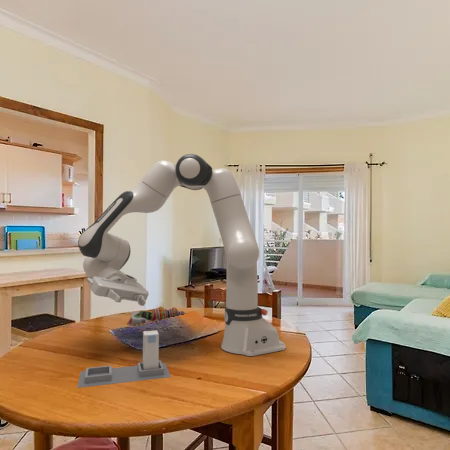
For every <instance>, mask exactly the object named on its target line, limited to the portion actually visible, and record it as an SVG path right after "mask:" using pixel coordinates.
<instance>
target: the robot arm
mask: <svg viewBox="0 0 450 450" xmlns="http://www.w3.org/2000/svg"><path fill="white" fill-rule="evenodd" d="M177 187H181V188H185V189H188V190H191V191H199V190H202V189H204V190H205V191H206V193H207V195H208V198H209V201H210V205H211V207H212V211H213V214H214V218H215V221H216V225H217V228H218V231H219V235H220V238H221V242H222V245H223V249H224V252H225V255H226V282H225V284H226V289H225V296H226V297H225V307H224V318H223V319H224V323H225V324H224V331H223V338H222V342H221V345H220V347H221V349H222V350H223V351H225V352H227V353H231V354H238V355H244V356H247V357H255V356H260V355H265V354H270V353H276V352H279V351H280V352H281V351H285V350H286V344H285V342H284V341H282V340H280V337H279V333H278V330H277V328H276V326H274V325H273V324H271V323H270V322H269V321H267V320H266V319H265V318H264V317H263V316H267V315H268V310H267V309H265V308H261V307H260V306H258V304H259V303H258V302H259V301H258V297H259V296H258V294H259V287H258V286H259V285H258V284H259V281H258V260H259V258H260V248H259V245H258V241H257V239H256V237H255V233H254V230H253V228H252V224H251V222H250V220H249V219H250V218H249V216H248V213H247V210H246V207H245V204H244V200H243V196H242V194H241V191H240V188H239V185H238V183H237V181H236V179H235V177H234V175H233V173H232V172H231V171H230V170H229V169H228V168H223V167H220V168H215V169H213V167H212V166H211V165H210V164H209V163H208V162H207V161H206V160H205V159H204V158H203V157H201V156H200V155H197V154H195V153H187V154H183V156H181V157H180V158H179V159H178V160H177V162H176V163H175V164H174V163H172V161H169V160H164V159H162V160H159V161H157V162H155V163H154V164H153V165H152V166H151V168H150V169H149V170H147V172H146V174H145V175H144V176H143V177H142V179H141V180H140V181H139V183H138V184H137V186H135V187H133V188H132V189H131V190H126V191H124V192H122V193H121V194H119V196H118V197H116V199H114V201H112V203H111V204H109V206H108V207H107V208H106V209H105V210H104V211H103V212H102V213H101V214H100V216H99V217H97V219H96V220H95V221H94V222H93V223H92V224H91V225H90V226H89V227H87V228H86V229H85V230H84V231H83V232H81V234H80V236H79V237H78V241H77V243H78V244H77V246H78V249H79V252H80V254H82V256H84V257H85V258H84V260H83V263H82V267H83V271H84V273H85V275H86V276H87V277H86V282H87V283H88V284H89V285H88V286H89V289H90V290H91V292H92V293H93V294H94V295H95V296H98V297H104V298H109V299H111V300H113V301H114V302H115V303H122V300H123V301H131V302H137V304H138V305H139V306H141V307H144V306H145V305H146V303H147V300H148V297H149V291H148V290H147V289H146V288H145V287H144V286H143V285H142V284H140V283H139V282H137V281H138V280H137V279H136V277H133V276H132V275H129V274H126V273H125V272H123V271H121V269H122V268H124V266H125V265H126V264H127V263H128V261H129V259H130V256H131V245H130V243H129V241H128V240H125V239H123V238H121V237H119V236H116V235H114V234H111V233H109V231H111V229H112V228H113V227H114V226H115V225H116V224H117V222H119V220H120V219H121V218H122V217H123V216H125V215H128V214H133V213H143V214H151V213H154V212H157V211H159V210H160V209H161V208H162V207H163V206H164V205H165V203H166V202H167V200H168V198H169V197H170V196H171V194H172V193H173V191H174V190H175V189H176V188H177Z"/></svg>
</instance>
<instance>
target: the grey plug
mask: <svg viewBox="0 0 450 450" xmlns="http://www.w3.org/2000/svg"><path fill="white" fill-rule="evenodd" d="M159 340H160V335H159V331H158V329H154V330H145V331H143V330H142V362H143V370H150V369H158V368H159V361H160V360H159V359H160V356H159V353H160V349H159V348H160V347H159V343H160V341H159Z"/></svg>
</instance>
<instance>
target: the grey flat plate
mask: <svg viewBox="0 0 450 450" xmlns="http://www.w3.org/2000/svg"><path fill="white" fill-rule="evenodd" d="M165 378H172V376H171V373H170V371H169V369H168V367H167V364H166V362H162V360H159V368H158V369H150V370H143V361H142V362H137V365H133V366H132V365H131V366H122V367H121V366H120V367H113V368H112V365H103V366H94V367H93V366H92V367H86V368H85V370H82V371H80V372H79V376H78V382H77V383H78V384H77V389H81V388H89V387H95V386H97V387H99V386H104V385H114V384H123V383H131V382H140V381H148V380H157V379H165Z"/></svg>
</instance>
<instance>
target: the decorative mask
mask: <svg viewBox="0 0 450 450" xmlns="http://www.w3.org/2000/svg"><path fill="white" fill-rule="evenodd" d="M184 314H188V313H186V312H185V311H183V310H181V311H179V310H178V309H177V308H176V307H175V306H173V307H172V308H170V309H167V308H165V307H163V306H159V307H157V308H153V309H152V308H151V309H148V310H140V311H135V312H133V313H131V316H130V317H129V320H128V321H127V322H126V324H127V325H129V326H136V325H140V324H144V323H149V322H154V321H158V320H162V319H167V318H170V317H175V316H179V315H184Z"/></svg>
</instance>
